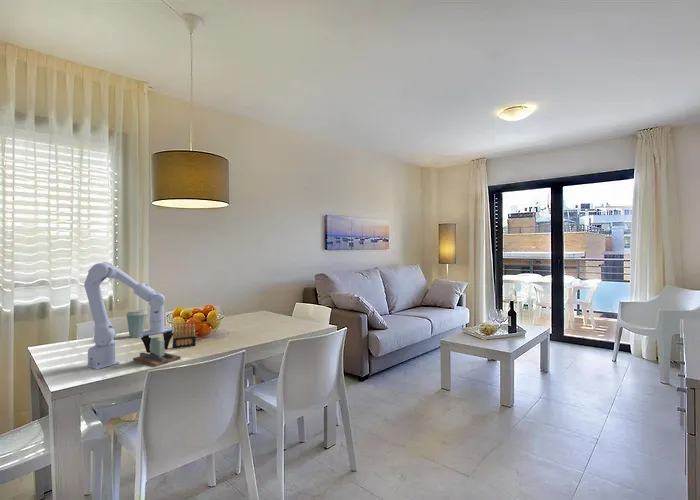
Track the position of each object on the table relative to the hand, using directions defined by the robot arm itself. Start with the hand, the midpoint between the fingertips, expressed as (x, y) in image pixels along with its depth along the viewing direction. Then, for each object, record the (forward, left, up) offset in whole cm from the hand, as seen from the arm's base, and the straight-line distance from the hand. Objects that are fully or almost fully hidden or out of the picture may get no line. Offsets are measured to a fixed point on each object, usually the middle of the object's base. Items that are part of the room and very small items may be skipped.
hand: (157, 350), depth 164 cm
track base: (0, 0, -4) cm, 4 cm away
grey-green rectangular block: (0, 0, -2) cm, 2 cm away
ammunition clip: (+20, +8, -5) cm, 22 cm away
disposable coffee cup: (+20, +48, -4) cm, 52 cm away
